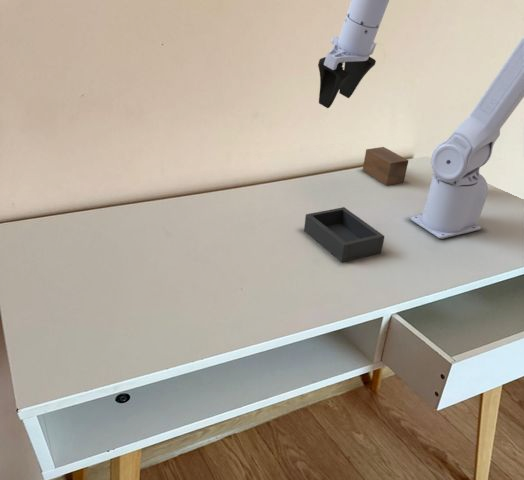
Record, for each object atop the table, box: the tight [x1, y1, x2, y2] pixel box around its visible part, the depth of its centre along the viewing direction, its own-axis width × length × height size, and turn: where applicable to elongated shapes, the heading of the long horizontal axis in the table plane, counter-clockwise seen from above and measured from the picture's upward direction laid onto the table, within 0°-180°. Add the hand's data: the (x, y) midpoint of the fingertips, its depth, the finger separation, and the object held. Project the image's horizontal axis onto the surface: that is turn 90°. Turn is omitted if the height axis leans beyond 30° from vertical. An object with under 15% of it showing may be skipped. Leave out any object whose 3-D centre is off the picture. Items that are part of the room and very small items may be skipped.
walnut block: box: [362, 146, 410, 186], centre depth 112 cm, size 4×8×4 cm, turn 28°
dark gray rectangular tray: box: [303, 206, 386, 263], centre depth 90 cm, size 8×11×3 cm
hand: (334, 100), depth 100 cm, fingers open, 7 cm apart
